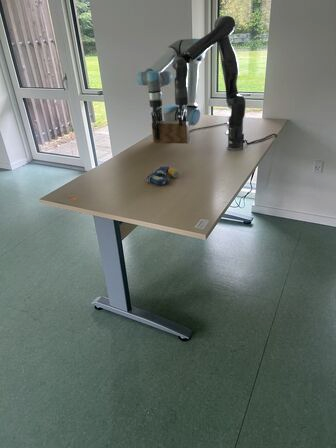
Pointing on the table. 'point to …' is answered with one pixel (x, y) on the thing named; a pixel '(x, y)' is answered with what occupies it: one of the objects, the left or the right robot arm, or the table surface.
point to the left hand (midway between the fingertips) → (159, 137)
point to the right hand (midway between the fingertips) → (182, 123)
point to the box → (172, 132)
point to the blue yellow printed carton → (162, 175)
